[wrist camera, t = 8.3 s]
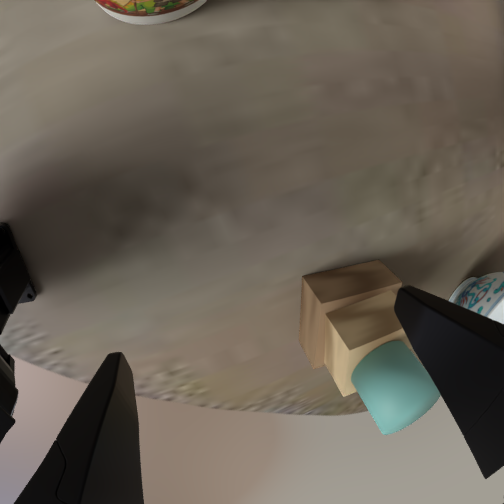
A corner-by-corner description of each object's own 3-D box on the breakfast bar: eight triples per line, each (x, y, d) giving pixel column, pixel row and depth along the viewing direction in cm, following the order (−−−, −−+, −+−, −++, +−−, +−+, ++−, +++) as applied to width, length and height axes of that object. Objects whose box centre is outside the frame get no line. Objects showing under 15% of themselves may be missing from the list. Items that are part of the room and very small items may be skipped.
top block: (324, 362, 26) (343, 396, 22) (325, 313, 23) (349, 350, 19) (382, 339, 27) (404, 369, 23) (390, 289, 24) (419, 320, 20)
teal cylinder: (346, 393, 22) (374, 442, 18) (357, 353, 20) (393, 409, 16) (396, 372, 23) (427, 415, 19) (413, 332, 21) (451, 378, 16)
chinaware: (501, 230, 31) (543, 259, 24) (486, 308, 39) (516, 337, 32) (423, 283, 30) (468, 327, 24) (417, 358, 38) (446, 396, 32)
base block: (297, 338, 29) (313, 369, 26) (300, 274, 26) (321, 303, 22) (364, 320, 31) (384, 345, 27) (377, 258, 27) (402, 282, 24)
